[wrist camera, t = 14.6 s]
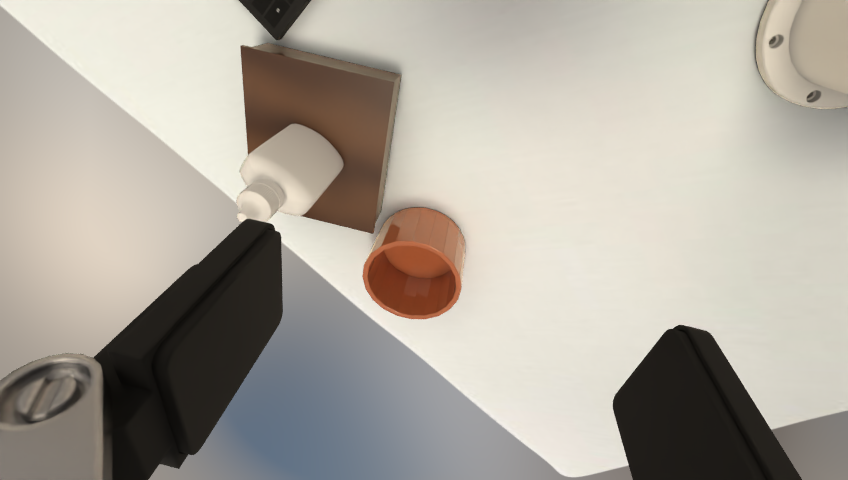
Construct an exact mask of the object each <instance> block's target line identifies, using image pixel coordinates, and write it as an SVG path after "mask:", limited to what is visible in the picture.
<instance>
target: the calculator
mask: <svg viewBox="0 0 848 480" xmlns="http://www.w3.org/2000/svg"><path fill="white" fill-rule="evenodd" d="M239 1H240V2H241V3H242V4H243V5H244V6H245V7H246V8H247V9H248V10H249V12H250V13H251V14H252V15H253V16H254V17H255V18H256V19H257V20H258V21H259V22H260V23H261V24H262V25H263V27H264V28H265V29H266V30H267V31H268V32H269V33H270V34H271V35H272V36H273V37H274V38H275V39H276V40H280V39H282V37H283V36H284V35H285V33H286V32H287V31H288V29H289V28H290V27H291V26H292V24H293V23H294V22H295V20H296V19H297V18H298V16H299V15H300V14H301V13H302V11H303V10H304V9H305V7H306V6H307V5H308V4H309V2H310V1H311V0H239Z"/></svg>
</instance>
